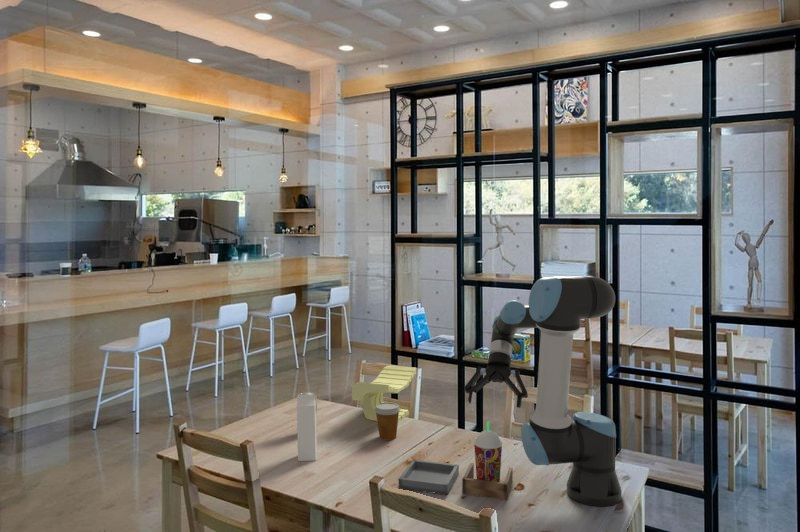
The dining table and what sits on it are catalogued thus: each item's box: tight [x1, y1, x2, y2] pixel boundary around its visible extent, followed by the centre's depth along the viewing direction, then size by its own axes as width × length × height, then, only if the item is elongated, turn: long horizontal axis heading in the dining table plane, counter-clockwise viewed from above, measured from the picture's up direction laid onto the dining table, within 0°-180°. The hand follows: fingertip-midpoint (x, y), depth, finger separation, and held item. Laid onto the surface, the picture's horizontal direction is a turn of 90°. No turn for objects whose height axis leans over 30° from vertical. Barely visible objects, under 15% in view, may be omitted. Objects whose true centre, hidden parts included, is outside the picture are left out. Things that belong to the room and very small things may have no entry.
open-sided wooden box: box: [461, 462, 514, 501], centre depth 171 cm, size 13×12×4 cm
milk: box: [296, 394, 318, 462], centre depth 196 cm, size 6×6×22 cm
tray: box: [398, 459, 460, 496], centre depth 177 cm, size 15×15×3 cm
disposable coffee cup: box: [375, 401, 401, 441], centre depth 215 cm, size 10×10×12 cm
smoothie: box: [473, 421, 503, 482], centre depth 171 cm, size 8×8×20 cm
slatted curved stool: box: [351, 365, 417, 423], centre depth 239 cm, size 30×16×18 cm, turn 158°
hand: (492, 414), depth 181 cm, fingers open, 13 cm apart
